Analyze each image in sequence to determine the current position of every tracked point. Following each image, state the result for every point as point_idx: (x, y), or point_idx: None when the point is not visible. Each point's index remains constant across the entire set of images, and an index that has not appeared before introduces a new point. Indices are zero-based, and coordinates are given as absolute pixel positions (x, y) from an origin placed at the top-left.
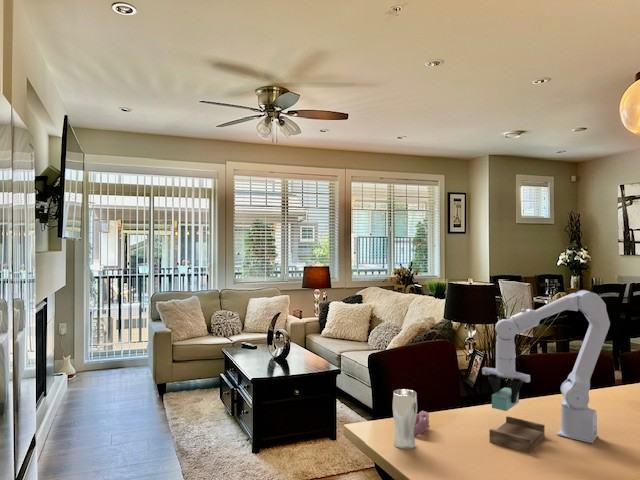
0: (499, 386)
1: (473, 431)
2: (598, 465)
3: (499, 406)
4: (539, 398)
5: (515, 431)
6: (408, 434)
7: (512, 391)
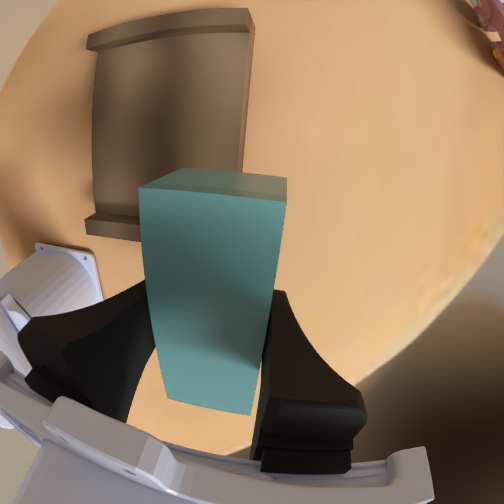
0: (260, 390)
1: (352, 100)
2: (7, 121)
3: (224, 174)
4: (233, 447)
5: (165, 131)
6: None
7: (117, 307)
